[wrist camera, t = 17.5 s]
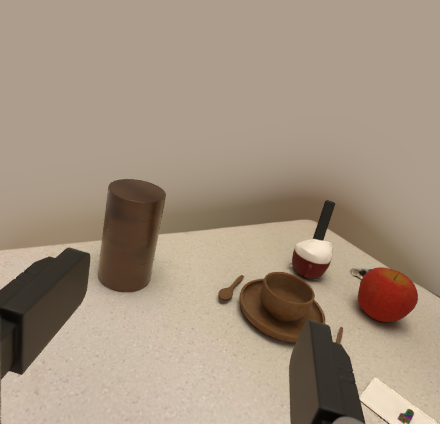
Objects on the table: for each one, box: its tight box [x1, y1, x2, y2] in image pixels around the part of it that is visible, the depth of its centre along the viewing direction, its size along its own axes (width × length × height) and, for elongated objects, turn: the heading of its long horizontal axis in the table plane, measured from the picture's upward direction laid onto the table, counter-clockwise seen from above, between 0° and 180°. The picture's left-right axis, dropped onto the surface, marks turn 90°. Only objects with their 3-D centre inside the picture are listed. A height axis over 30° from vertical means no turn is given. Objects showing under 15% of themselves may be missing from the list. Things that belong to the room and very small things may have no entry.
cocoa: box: [292, 200, 335, 279], centre depth 61 cm, size 10×6×12 cm, turn 139°
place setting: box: [219, 272, 343, 344], centre depth 46 cm, size 18×20×6 cm
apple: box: [358, 268, 418, 322], centre depth 55 cm, size 8×8×8 cm
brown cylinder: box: [98, 179, 166, 292], centre depth 48 cm, size 7×7×13 cm
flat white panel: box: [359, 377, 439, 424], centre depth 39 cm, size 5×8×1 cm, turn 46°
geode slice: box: [351, 268, 372, 279], centre depth 66 cm, size 7×8×2 cm
